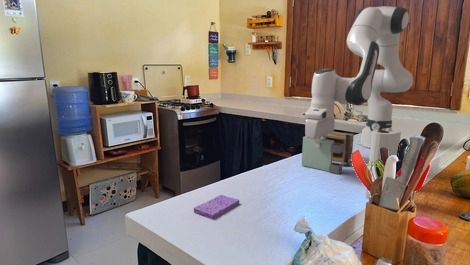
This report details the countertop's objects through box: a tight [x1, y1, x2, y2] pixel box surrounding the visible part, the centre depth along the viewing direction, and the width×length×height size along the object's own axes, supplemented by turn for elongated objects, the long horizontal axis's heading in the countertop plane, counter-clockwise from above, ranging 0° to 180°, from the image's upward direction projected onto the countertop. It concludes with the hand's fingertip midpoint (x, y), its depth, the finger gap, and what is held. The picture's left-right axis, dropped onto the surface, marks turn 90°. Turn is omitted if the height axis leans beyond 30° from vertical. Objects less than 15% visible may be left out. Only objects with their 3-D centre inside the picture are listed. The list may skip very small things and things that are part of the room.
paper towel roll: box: [365, 130, 402, 199], centre depth 96 cm, size 7×6×21 cm
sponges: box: [193, 194, 240, 220], centre depth 91 cm, size 7×13×2 cm, turn 144°
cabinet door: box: [301, 135, 344, 175], centre depth 124 cm, size 4×16×12 cm, turn 52°
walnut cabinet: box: [326, 131, 355, 168], centre depth 137 cm, size 14×16×13 cm
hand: (319, 146), depth 124 cm, fingers closed on cabinet door, 2 cm apart
